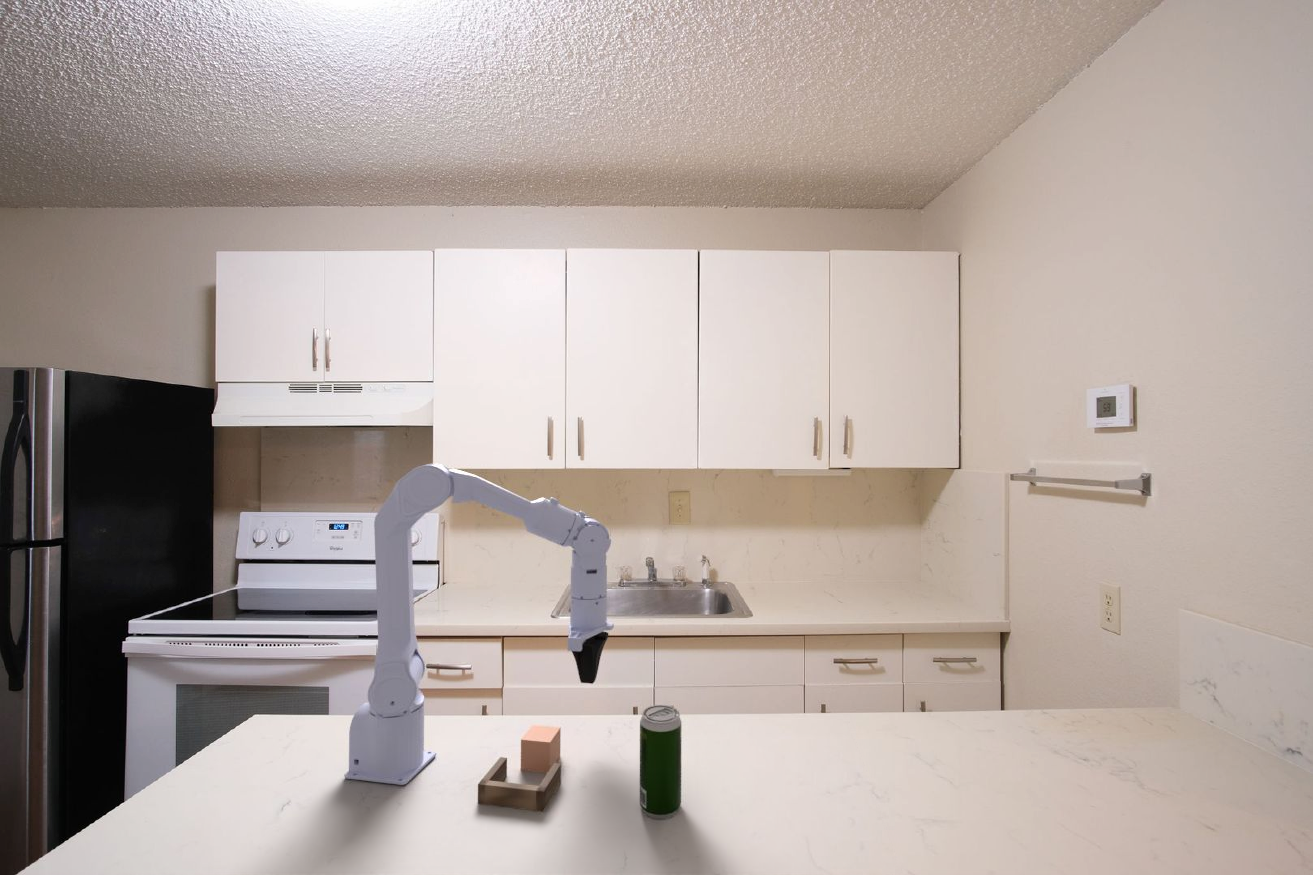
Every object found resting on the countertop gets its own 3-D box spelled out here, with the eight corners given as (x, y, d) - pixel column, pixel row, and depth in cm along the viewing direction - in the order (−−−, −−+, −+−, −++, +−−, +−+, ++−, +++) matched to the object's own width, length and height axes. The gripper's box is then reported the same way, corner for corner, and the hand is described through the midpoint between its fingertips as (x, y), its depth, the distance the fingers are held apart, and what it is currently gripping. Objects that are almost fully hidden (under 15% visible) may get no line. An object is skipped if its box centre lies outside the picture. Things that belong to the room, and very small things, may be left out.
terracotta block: (520, 770, 81) (520, 739, 81) (532, 753, 85) (532, 724, 85) (549, 773, 80) (550, 742, 80) (560, 756, 84) (560, 727, 84)
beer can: (654, 826, 69) (654, 727, 69) (631, 803, 73) (632, 710, 73) (689, 811, 72) (689, 716, 72) (665, 789, 76) (666, 700, 76)
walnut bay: (477, 803, 73) (478, 783, 73) (500, 774, 79) (500, 756, 79) (543, 811, 71) (543, 791, 72) (560, 781, 78) (561, 763, 78)
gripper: (600, 609, 81) (600, 703, 81) (623, 585, 96) (623, 665, 95) (554, 606, 82) (553, 699, 82) (583, 583, 97) (583, 662, 96)
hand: (588, 681), depth 89 cm, fingers closed
